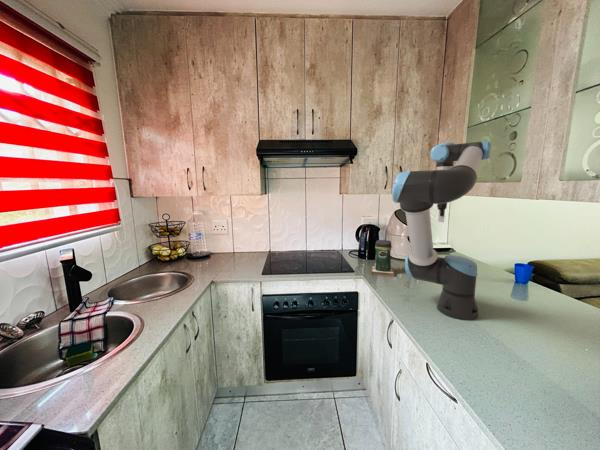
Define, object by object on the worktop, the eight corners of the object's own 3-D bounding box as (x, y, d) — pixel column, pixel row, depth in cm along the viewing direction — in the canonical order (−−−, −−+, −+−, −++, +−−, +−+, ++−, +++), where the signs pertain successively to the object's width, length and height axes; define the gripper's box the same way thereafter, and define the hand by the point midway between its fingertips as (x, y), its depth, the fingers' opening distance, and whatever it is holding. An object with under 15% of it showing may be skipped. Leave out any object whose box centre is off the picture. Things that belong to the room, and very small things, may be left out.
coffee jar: (391, 268, 156) (392, 239, 153) (390, 272, 149) (391, 242, 146) (374, 266, 160) (375, 238, 157) (373, 270, 152) (374, 241, 150)
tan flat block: (394, 276, 148) (394, 273, 147) (371, 274, 151) (371, 271, 151) (392, 270, 158) (392, 267, 158) (371, 268, 162) (371, 266, 161)
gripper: (432, 176, 132) (429, 220, 136) (438, 175, 120) (435, 223, 124) (448, 175, 130) (445, 220, 134) (456, 174, 118) (452, 224, 122)
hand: (440, 222), depth 129 cm, fingers closed
